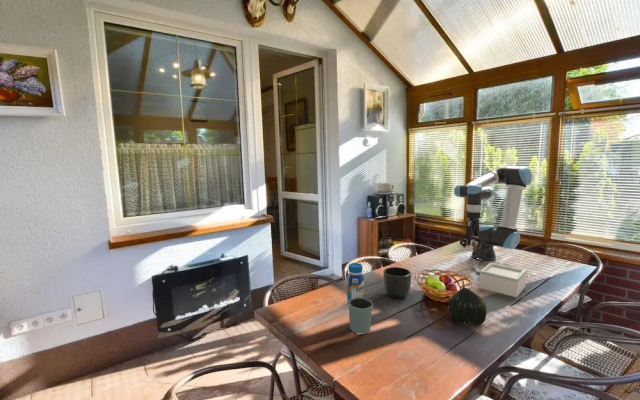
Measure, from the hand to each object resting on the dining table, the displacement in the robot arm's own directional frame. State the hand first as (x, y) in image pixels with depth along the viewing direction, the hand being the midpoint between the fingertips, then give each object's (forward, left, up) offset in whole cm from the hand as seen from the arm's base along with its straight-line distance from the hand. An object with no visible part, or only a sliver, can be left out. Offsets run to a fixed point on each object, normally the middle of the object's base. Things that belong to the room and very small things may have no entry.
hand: (472, 248), depth 190 cm
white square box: (+7, +19, -16) cm, 26 cm away
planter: (+54, -18, -17) cm, 59 cm away
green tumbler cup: (+93, -12, -17) cm, 95 cm away
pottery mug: (+1, -1, 0) cm, 1 cm away
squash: (+56, +18, -17) cm, 61 cm away
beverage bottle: (+76, -28, -17) cm, 83 cm away
